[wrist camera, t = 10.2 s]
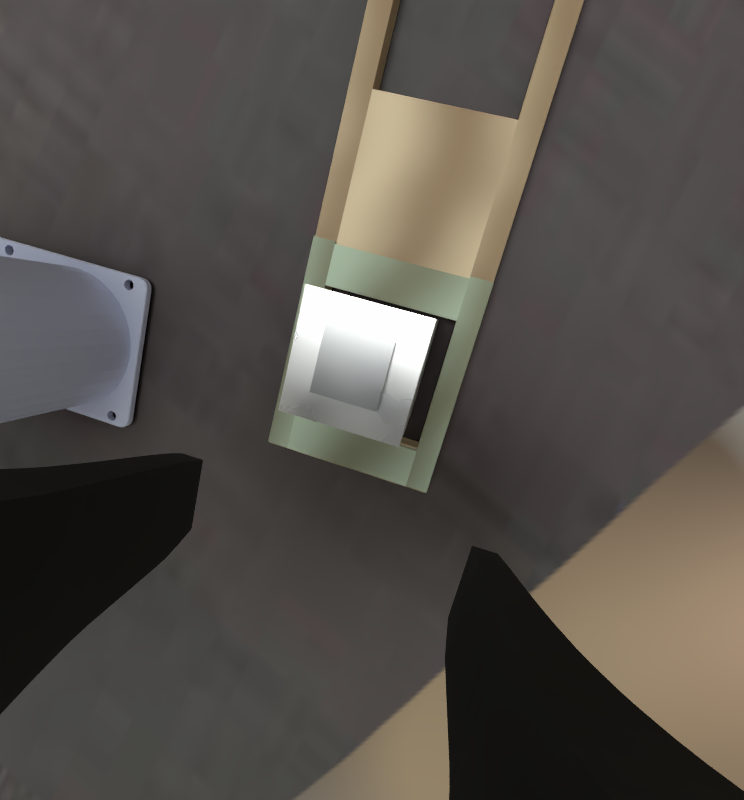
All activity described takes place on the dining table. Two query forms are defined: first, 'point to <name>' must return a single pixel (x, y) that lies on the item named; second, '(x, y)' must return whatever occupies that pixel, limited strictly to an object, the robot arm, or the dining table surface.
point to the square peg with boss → (356, 364)
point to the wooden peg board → (419, 224)
